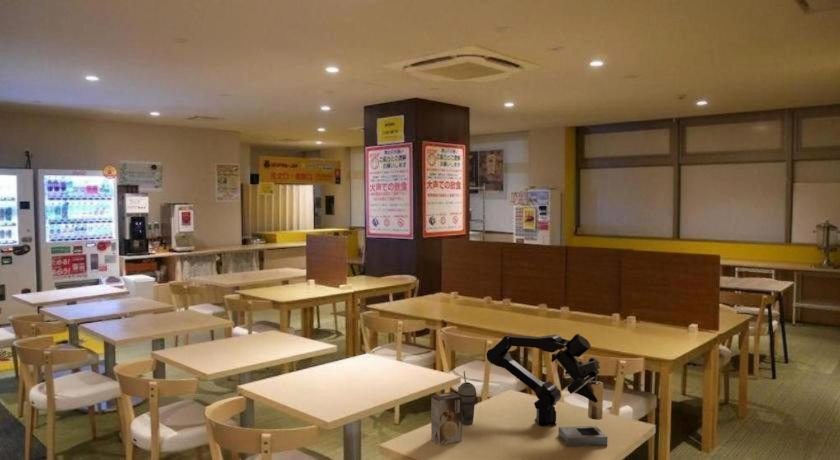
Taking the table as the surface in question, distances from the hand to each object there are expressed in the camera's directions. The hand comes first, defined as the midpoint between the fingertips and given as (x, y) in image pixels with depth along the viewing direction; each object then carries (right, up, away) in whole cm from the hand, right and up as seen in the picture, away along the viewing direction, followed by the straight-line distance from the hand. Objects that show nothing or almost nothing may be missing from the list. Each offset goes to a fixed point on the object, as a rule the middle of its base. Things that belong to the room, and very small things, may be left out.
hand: (599, 399), depth 215 cm
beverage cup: (-47, -12, +11) cm, 50 cm away
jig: (-7, -13, -4) cm, 15 cm away
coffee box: (-55, -13, -4) cm, 57 cm away
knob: (-1, -7, +1) cm, 7 cm away
